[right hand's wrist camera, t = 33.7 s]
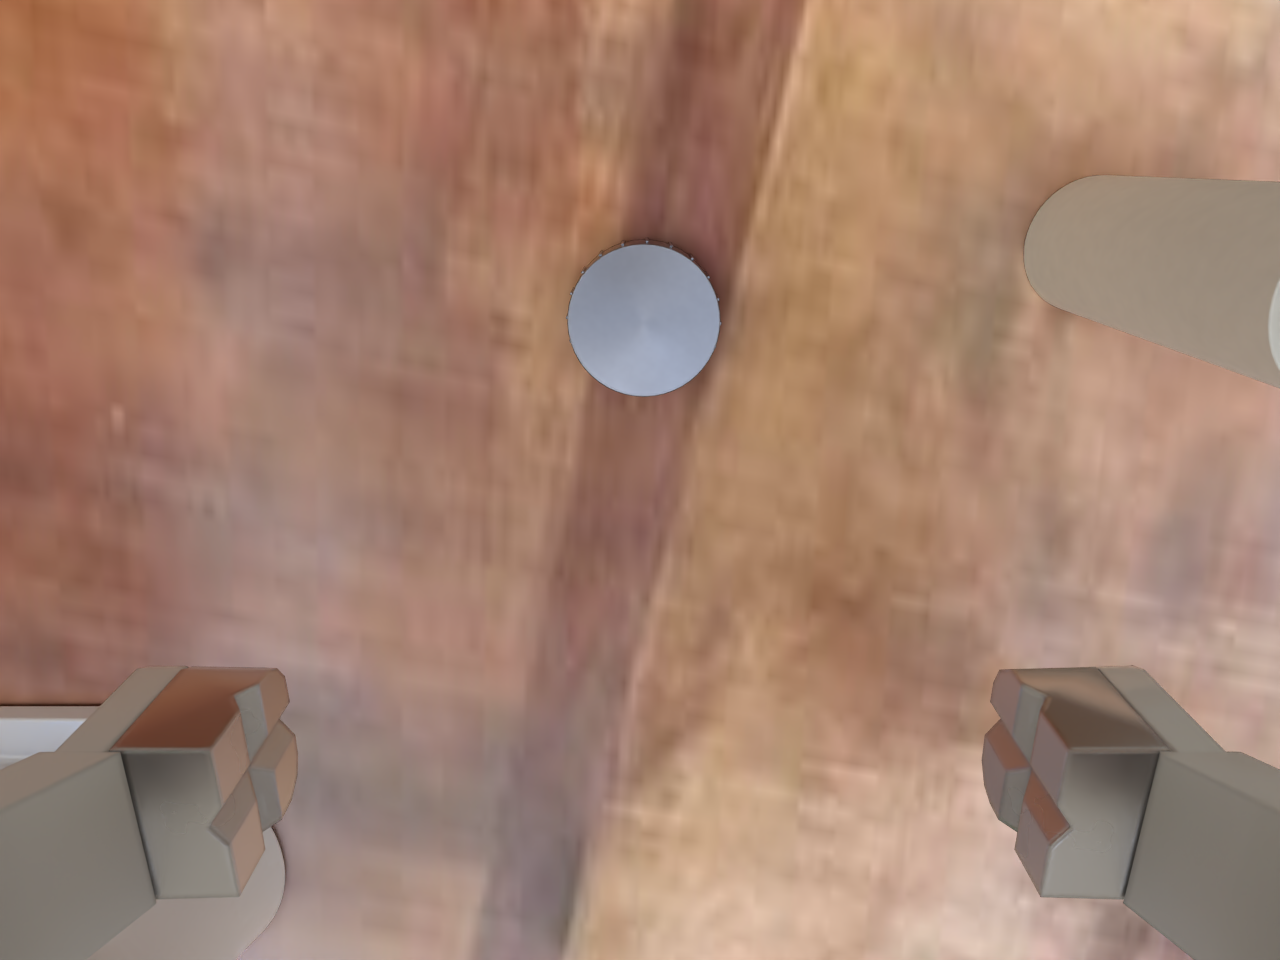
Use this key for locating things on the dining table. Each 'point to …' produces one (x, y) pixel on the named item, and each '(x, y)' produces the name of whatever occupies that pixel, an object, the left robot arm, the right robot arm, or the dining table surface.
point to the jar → (1168, 264)
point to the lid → (643, 318)
